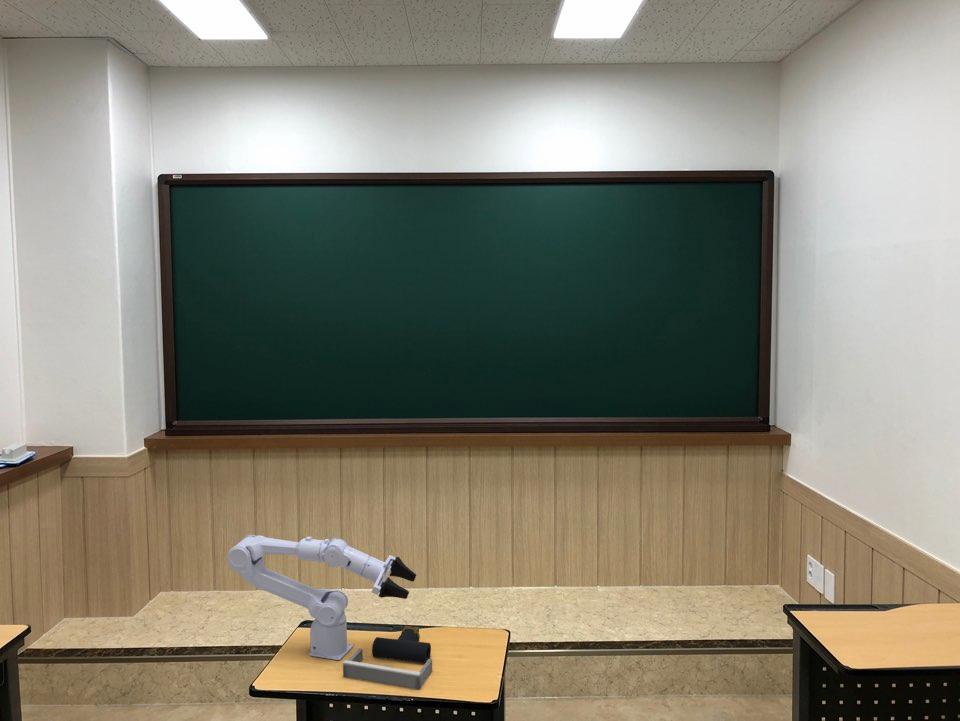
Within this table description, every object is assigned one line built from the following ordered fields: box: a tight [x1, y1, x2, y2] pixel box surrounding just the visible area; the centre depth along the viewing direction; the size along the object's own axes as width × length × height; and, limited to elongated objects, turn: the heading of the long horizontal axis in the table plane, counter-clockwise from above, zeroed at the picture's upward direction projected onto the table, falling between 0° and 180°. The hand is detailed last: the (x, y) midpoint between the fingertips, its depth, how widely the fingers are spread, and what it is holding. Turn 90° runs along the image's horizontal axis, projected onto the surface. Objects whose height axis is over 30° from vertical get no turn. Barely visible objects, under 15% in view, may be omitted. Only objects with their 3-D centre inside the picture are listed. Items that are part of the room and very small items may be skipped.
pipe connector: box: [371, 625, 432, 664], centre depth 184 cm, size 12×5×15 cm
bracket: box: [342, 647, 433, 690], centre depth 173 cm, size 21×9×4 cm, turn 73°
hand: (411, 586), depth 181 cm, fingers open, 7 cm apart
